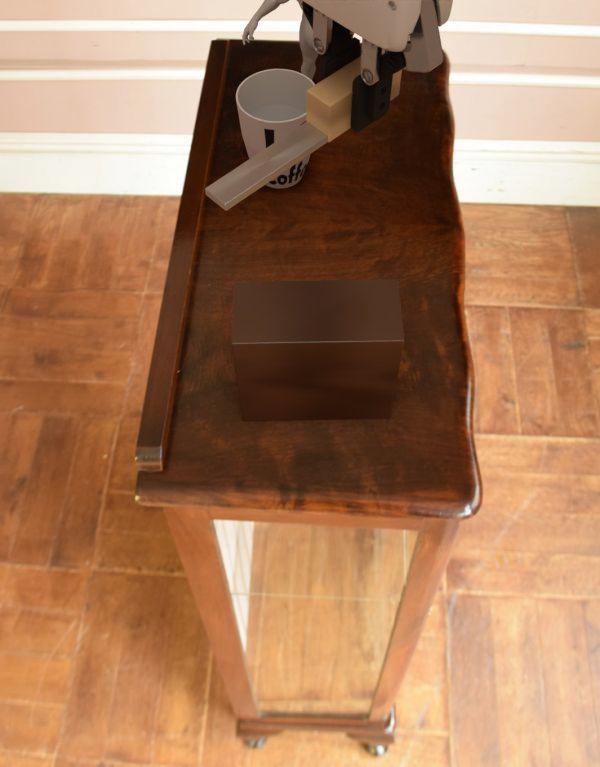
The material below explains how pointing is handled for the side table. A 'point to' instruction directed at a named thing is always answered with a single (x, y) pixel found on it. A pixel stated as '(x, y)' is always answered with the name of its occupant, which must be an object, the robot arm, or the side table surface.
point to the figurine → (305, 35)
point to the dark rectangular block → (317, 348)
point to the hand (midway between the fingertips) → (353, 108)
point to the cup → (273, 114)
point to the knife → (297, 137)
